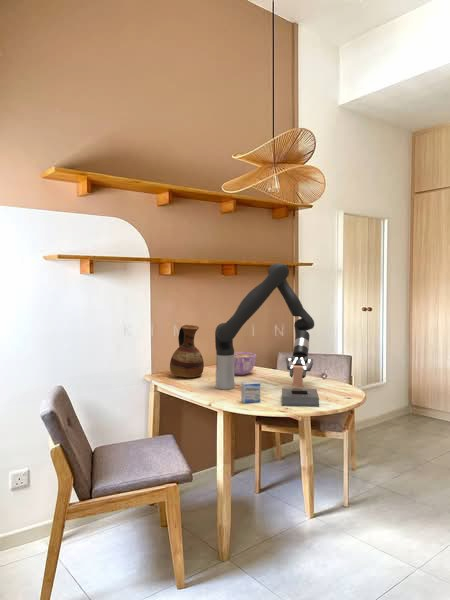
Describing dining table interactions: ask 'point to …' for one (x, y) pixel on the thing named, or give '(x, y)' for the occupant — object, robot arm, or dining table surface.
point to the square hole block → (299, 397)
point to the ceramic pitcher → (187, 354)
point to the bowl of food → (243, 362)
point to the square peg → (297, 375)
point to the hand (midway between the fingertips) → (297, 376)
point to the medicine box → (250, 392)
